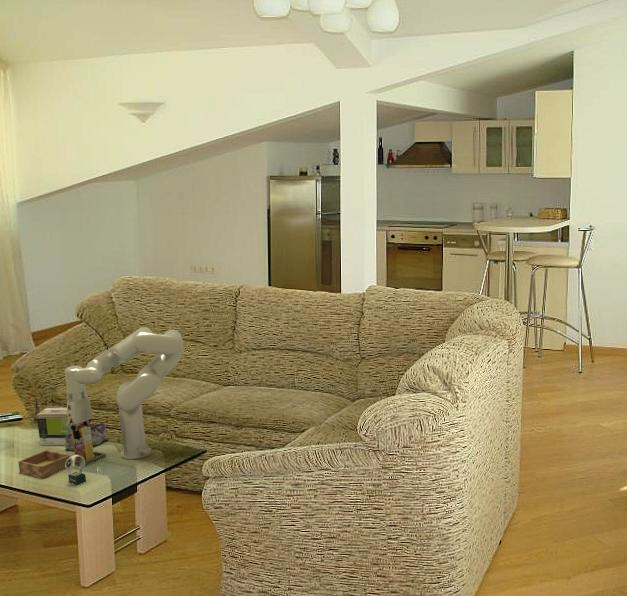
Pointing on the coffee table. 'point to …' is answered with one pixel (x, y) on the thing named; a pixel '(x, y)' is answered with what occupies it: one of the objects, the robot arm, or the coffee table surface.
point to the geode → (96, 432)
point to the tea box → (53, 426)
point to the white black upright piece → (77, 476)
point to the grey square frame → (100, 456)
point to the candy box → (83, 443)
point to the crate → (43, 464)
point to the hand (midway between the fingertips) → (81, 436)
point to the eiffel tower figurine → (35, 412)
